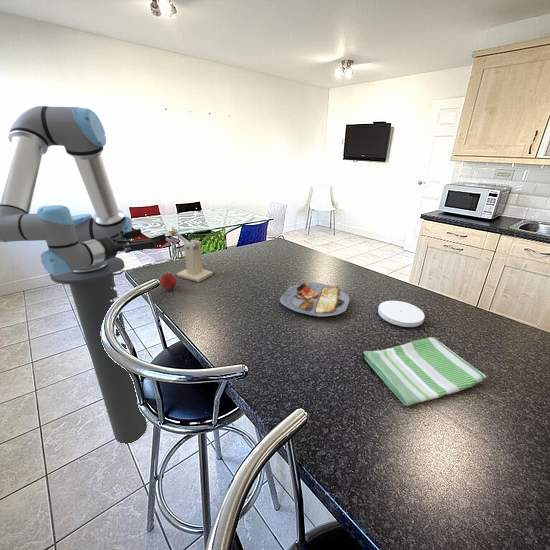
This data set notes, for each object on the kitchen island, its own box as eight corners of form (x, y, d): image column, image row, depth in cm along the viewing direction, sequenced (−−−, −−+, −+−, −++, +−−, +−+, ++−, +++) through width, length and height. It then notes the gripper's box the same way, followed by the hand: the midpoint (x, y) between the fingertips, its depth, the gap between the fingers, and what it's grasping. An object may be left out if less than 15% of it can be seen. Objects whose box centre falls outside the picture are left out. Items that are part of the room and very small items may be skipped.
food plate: (294, 283, 119) (294, 275, 118) (352, 293, 112) (353, 285, 110) (272, 312, 98) (272, 303, 96) (342, 328, 90) (343, 318, 89)
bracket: (177, 275, 123) (172, 242, 117) (192, 268, 130) (188, 237, 124) (198, 282, 118) (195, 247, 112) (213, 274, 125) (210, 241, 119)
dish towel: (360, 356, 78) (361, 347, 77) (430, 341, 85) (432, 333, 84) (406, 409, 63) (408, 399, 62) (487, 386, 69) (491, 377, 68)
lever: (166, 233, 121) (167, 226, 119) (172, 231, 124) (174, 224, 122) (190, 252, 118) (192, 245, 116) (196, 250, 121) (198, 243, 119)
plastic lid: (368, 310, 100) (369, 304, 99) (400, 304, 105) (402, 297, 104) (398, 333, 88) (399, 326, 87) (432, 324, 93) (434, 318, 92)
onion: (158, 291, 110) (154, 272, 107) (170, 286, 114) (167, 267, 111) (168, 295, 107) (165, 276, 104) (180, 289, 112) (178, 270, 108)
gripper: (80, 254, 102) (132, 239, 120) (126, 268, 92) (177, 249, 109) (74, 233, 99) (129, 221, 116) (121, 245, 89) (174, 230, 106)
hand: (152, 234), depth 113 cm, fingers open, 13 cm apart
